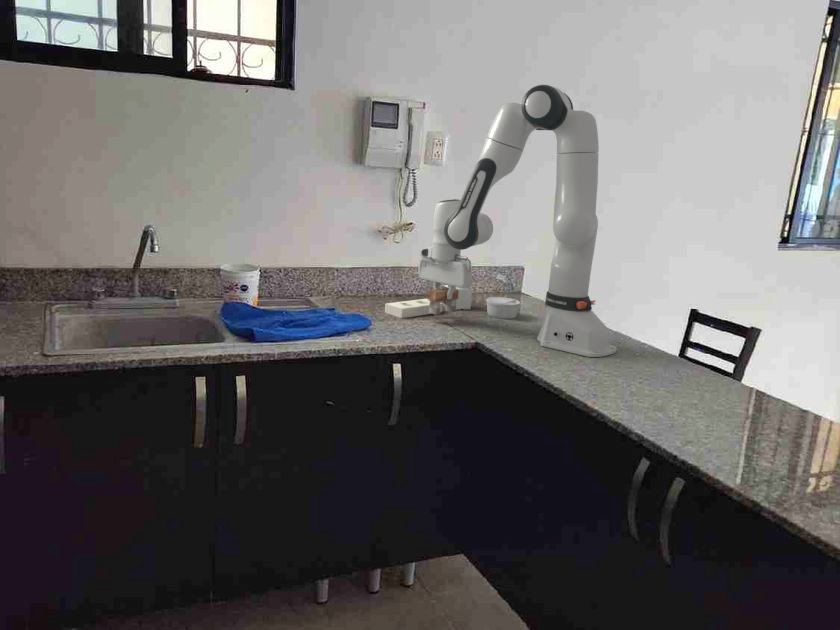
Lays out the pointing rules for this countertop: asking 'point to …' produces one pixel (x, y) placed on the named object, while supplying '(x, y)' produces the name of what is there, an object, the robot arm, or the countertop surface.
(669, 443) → the countertop surface
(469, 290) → the medicine bottle
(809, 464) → the countertop surface
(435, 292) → the clip
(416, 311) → the white flat block
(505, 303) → the ramekin
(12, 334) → the countertop surface
